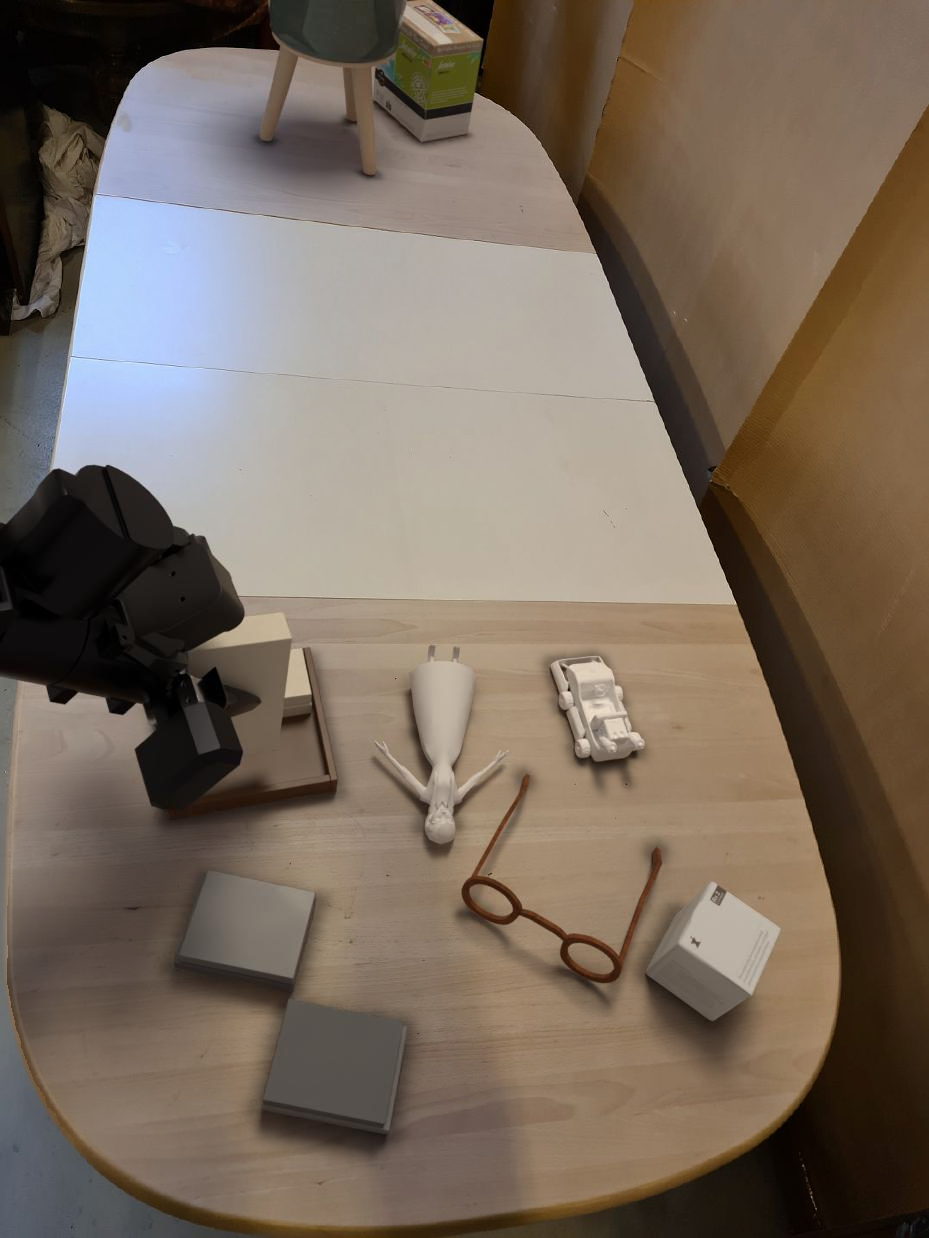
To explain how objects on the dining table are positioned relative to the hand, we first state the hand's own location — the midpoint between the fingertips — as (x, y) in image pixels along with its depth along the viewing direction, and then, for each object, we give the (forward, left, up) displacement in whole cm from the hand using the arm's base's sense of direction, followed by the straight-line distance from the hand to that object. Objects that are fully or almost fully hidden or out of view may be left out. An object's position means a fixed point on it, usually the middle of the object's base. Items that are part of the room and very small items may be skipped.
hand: (249, 685), depth 63 cm
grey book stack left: (-2, -14, -12) cm, 19 cm away
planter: (+26, +104, -12) cm, 108 cm away
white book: (-2, -1, -7) cm, 7 cm away
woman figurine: (+16, -2, -12) cm, 20 cm away
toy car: (+31, -1, -12) cm, 33 cm away
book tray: (0, +3, -12) cm, 13 cm away
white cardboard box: (+31, -24, -12) cm, 41 cm away
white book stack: (+1, +6, -12) cm, 13 cm away
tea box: (+43, +114, -12) cm, 123 cm away
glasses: (+23, -15, -12) cm, 30 cm away
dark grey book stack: (+2, -24, -12) cm, 27 cm away
